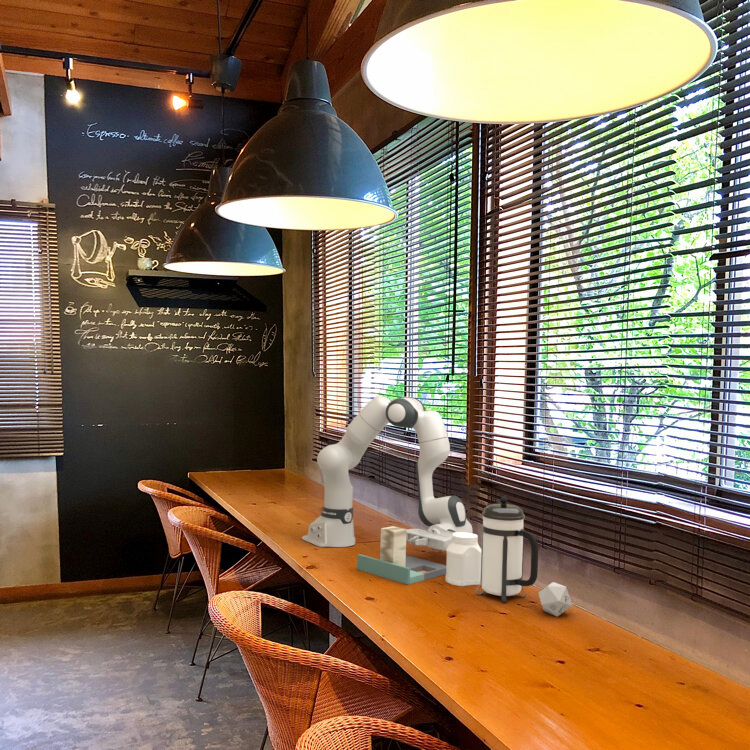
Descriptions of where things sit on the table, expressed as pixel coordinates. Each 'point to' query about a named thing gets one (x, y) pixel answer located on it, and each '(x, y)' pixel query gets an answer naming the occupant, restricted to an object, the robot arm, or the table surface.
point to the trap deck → (401, 569)
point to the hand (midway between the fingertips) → (412, 542)
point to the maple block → (393, 545)
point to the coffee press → (505, 551)
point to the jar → (463, 560)
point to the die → (555, 599)
